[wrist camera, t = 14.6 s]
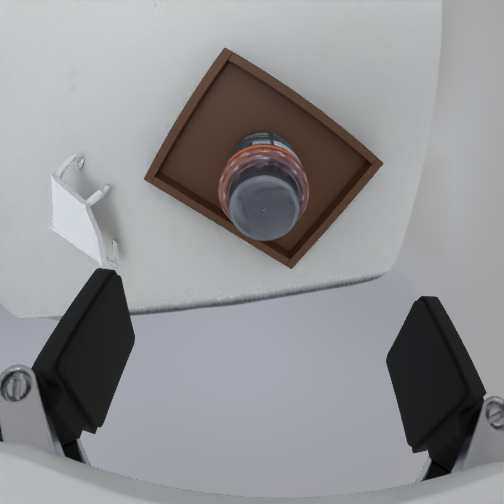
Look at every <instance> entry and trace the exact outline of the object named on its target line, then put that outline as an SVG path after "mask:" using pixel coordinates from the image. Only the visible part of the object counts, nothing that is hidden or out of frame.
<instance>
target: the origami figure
mask: <svg viewBox="0 0 504 504" xmlns="http://www.w3.org/2000/svg"><path fill="white" fill-rule="evenodd" d="M72 160H73V163H74V165H75V167H76V170H77V171H78V172H79V170H80V168H81V166H82V164H83V162H84V160H83V159H81V161H80V163H79V165H78V162H77V159H76V156H75V154H74V153H73V154H72V155H71V156H70V157H69V158H68V159H67V160H66V161H65V162H64V163H63V164H62V165H61V167H60V168H59V169H58V170H57V172H55V173H54V174H52V179H51V183H52V200H53V219H52V220H51V223H52V224H53V227H51V228H50V229H51V230H53V231H55V232H57V233H58V234H60V235H61V236H62V237H64V238H65V239H67V240H68V241H69V242H71V243H72V244H74V245H75V246H76V247H78V248H79V249H81V250H82V251H83V252H85V253H86V254H88V255H89V256H91V257H92V258H93V259H95V260H96V261H97V262H98V263H99V264H100V266H103V265H109V266H112V267H114V268H117V267H118V253H117V242H116V241H115V240H114V241H113V243H112V244H113V261H111V260H110V259H108V258H107V257H106V253H105V248H104V243H103V238H102V234H101V232H100V229H99V227H98V224H97V222H96V220H95V217H94V215H93V213H92V210H91V208H90V206H92V205H93V204H94V203H95V202H97V201H98V200H99V199H101V198H102V197H103V196H104V195H105V194H106V193H107V192H108V191H109V189H110V187H109V186H108V185H106V186H105V187H104V188H103V189H102V190H98V191H97V192H95V193H94V194H93V195H92V196H91V197H90V198H89V199H87V200H84V199H83V198H82V197H81V196H80V195H79V194H77V193H76V192H75V191H74V190H73V189H72V188H70V187H69V186H68V185H67V184H66V183H65V182H64V181H63V180H61V178H62V176H63V173H64V171H65V170H66V168H67V167H68V165H69V164H70V163H71V161H72Z"/></svg>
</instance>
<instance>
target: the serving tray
mask: <svg viewBox="0 0 504 504" xmlns="http://www.w3.org/2000/svg"><path fill="white" fill-rule="evenodd" d="M262 130H265V131H272V132H275V133H277V134H279V135H281V136H283V137H284V138H285V139H286V140H287V141H288V142H289V143H290V144H291V145H292V147H293V148H294V150H295V153H296V155H297V156H298V159H299V160H300V163H301V165H302V167H303V169H304V171H305V173H306V176H307V179H308V183H309V199H308V203H307V206H306V209H305V211H304V213H303V214H302V216H301V217H300V218H299V219H298V220H297V222H296V223H295V225H294V226H293V228H292V229H291V230H290V231H289V232H288V233H286V234H285V235H283V236H282V237H279V238H277V239H274V240H267V241H261V240H254V239H252V238H249V237H247V236H245V235H244V234H242V233H241V232H240V231H239V230H238V229H237V228H236V227H235V226H234V224H233V222H232V221H231V220H230V219H229V218H228V217H227V216H226V214H225V213H224V211H223V209H222V207H221V204H220V201H219V195H218V185H219V180H220V177H221V174H222V171H223V169H224V166H225V164H226V162H227V160H228V157H229V155H230V153H231V151H232V149H233V147H234V146H235V144H236V143H237V141H239V140H240V139H241V138H242V137H243V136H245V135H246V134H249V133H251V132H254V131H262ZM382 165H383V162H382V161H381V160H380V159H378V158H377V157H376V156H375V155H374V154H373V153H372V152H371V151H369V150H368V149H367V148H366V147H365V146H364V145H363V144H361V143H360V142H359V141H358V140H357V139H356V138H354V137H353V136H352V135H351V134H350V133H348V132H347V131H346V130H345V129H343V128H342V127H341V126H340V125H339V124H337V123H336V122H335V121H333V120H332V119H331V118H330V117H328V116H327V115H326V114H324V113H323V112H322V111H321V110H319V109H318V108H317V107H315V106H314V105H313V104H311V103H310V102H308V101H307V100H306V99H304V98H303V97H302V96H300V95H299V94H297V93H296V92H295V91H293V90H292V89H290V88H289V87H287V86H286V85H284V84H283V83H281V82H280V81H278V80H277V79H275V78H274V77H272V76H271V75H269V74H268V73H266V72H265V71H263V70H262V69H260V68H258V67H257V66H255V65H254V64H252V63H250V62H249V61H247V60H245V59H244V58H242V57H240V56H239V55H237V54H235V53H233V52H232V51H230V50H228V49H226V48H224V49H223V51H222V52H221V53H220V55H219V56H218V57H217V59H216V60H215V62H214V63H213V65H212V66H211V67H210V69H209V70H208V72H207V73H206V75H205V76H204V78H203V79H202V81H201V82H200V84H199V85H198V87H197V88H196V90H195V91H194V93H193V94H192V96H191V97H190V99H189V101H188V102H187V104H186V105H185V107H184V109H183V110H182V112H181V114H180V115H179V117H178V118H177V120H176V122H175V123H174V125H173V127H172V129H171V130H170V132H169V134H168V135H167V137H166V139H165V141H164V142H163V144H162V146H161V148H160V150H159V151H158V153H157V155H156V157H155V159H154V161H153V162H152V164H151V166H150V168H149V170H148V172H147V174H146V176H145V178H144V180H146V181H147V182H149V183H151V184H153V185H154V186H156V187H158V188H159V189H161V190H163V191H164V192H166V193H168V194H169V195H171V196H173V197H174V198H176V199H177V200H179V201H181V202H182V203H184V204H186V205H187V206H189V207H191V208H192V209H194V210H196V211H197V212H199V213H201V214H202V215H204V216H205V217H207V218H209V219H210V220H212V221H214V222H215V223H217V224H219V225H220V226H222V227H224V228H225V229H227V230H228V231H230V232H232V233H233V234H235V235H237V236H238V237H240V238H242V239H243V240H245V241H246V242H248V243H250V244H251V245H253V246H255V247H256V248H258V249H260V250H261V251H263V252H264V253H266V254H268V255H269V256H271V257H273V258H274V259H276V260H277V261H279V262H281V263H282V264H284V265H286V266H287V267H289V268H291V269H292V268H293V267H294V266H295V265H296V264H297V262H298V261H299V260H300V259H301V258H302V257H303V256H304V255H305V254H306V252H307V251H308V250H309V249H310V248H311V247H312V246H313V245H314V244H315V242H316V241H317V240H318V239H319V238H320V237H321V236H322V235H323V233H324V232H325V231H326V230H327V229H328V228H329V227H330V225H331V224H332V223H333V222H334V221H335V220H336V219H337V217H338V216H339V215H340V214H341V213H342V212H343V211H344V209H345V208H346V207H347V206H348V205H349V204H350V202H351V201H352V200H353V199H354V198H355V197H356V195H357V194H358V193H359V192H360V191H361V190H362V188H363V187H364V186H365V185H366V184H367V182H368V181H369V180H370V179H371V178H372V177H373V175H374V174H375V173H376V172H377V171H378V169H379V168H380V167H381V166H382Z"/></svg>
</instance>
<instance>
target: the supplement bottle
mask: <svg viewBox="0 0 504 504" xmlns="http://www.w3.org/2000/svg"><path fill="white" fill-rule="evenodd" d="M218 195H219V201H220V204H221V207H222V209H223V211H224V213H225V214H226V216H227V217H228V218H229V219H230V220H231V221H232V222H233V224H234V226H235V227H236V228H237V229H238V230H239V231H240V232H241V233H242V234H244V235H245V236H247V237H249V238H252V239H254V240H261V241H267V240H274V239H277V238H279V237H282V236H283V235H285V234H286V233H288V232H289V231H290V230H291V229H292V228H293V226H294V225H295V223H296V222H297V220H298V219H299V218H300V217H301V216H302V214H303V213H304V211H305V209H306V206H307V203H308V199H309V183H308V179H307V176H306V173H305V171H304V169H303V167H302V165H301V163H300V160H299V159H298V156H297V155H296V153H295V150H294V148H293V147H292V145H291V144H290V143H289V142H288V141H287V140H286V139H285V138H284V137H283V136H281V135H279V134H277V133H275V132H272V131H265V130H262V131H254V132H251V133H249V134H246V135H245V136H243V137H242V138H241V139H240V140H239V141H237V143H236V144H235V146H234V147H233V149H232V151H231V153H230V155H229V157H228V160H227V162H226V164H225V166H224V169H223V171H222V174H221V177H220V180H219V185H218Z"/></svg>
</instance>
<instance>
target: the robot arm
mask: <svg viewBox="0 0 504 504" xmlns="http://www.w3.org/2000/svg"><path fill="white" fill-rule="evenodd" d="M134 341H135V335H134V331H133V327H132V323H131V319H130V315H129V310H128V306H127V302H126V297H125V293H124V288H123V283H122V279H121V277H120V276H119V275H117V273H116V271H115V270H110V269H102V268H98V269H96V270H95V272H94V273H93V274H92V276H91V277H90V278H89V280H88V281H87V283H86V284H85V285H84V287H83V288H82V290H81V291H80V292H79V294H78V295H77V297H76V298H75V300H74V301H73V302H72V304H71V305H70V307H69V308H68V310H67V311H66V313H65V314H64V316H63V317H62V319H61V320H60V322H59V323H58V325H57V326H56V328H55V330H54V331H53V333H52V334H51V336H50V338H49V339H48V341H47V342H46V344H45V346H44V347H43V349H42V351H41V352H40V354H39V356H38V357H37V359H36V361H35V362H34V365H33V367H32V368H31V369H30V368H29V367H27V366H24V365H15V366H11V367H9V368H7V369H6V370H5V371H4V372H2V373H1V375H0V504H504V399H502V398H500V397H495V396H492V397H489V398H487V399H486V400H485V401H484V399H483V396H484V395H485V394H486V391H485V389H484V386H483V384H482V382H481V379H480V377H479V375H478V373H477V371H476V369H475V366H474V364H473V362H472V360H471V358H470V356H469V354H468V352H467V350H466V348H465V346H464V344H463V342H462V340H461V338H460V336H459V335H458V333H457V331H456V329H455V327H454V325H453V323H452V321H451V320H450V318H449V316H448V314H447V313H446V311H445V309H444V307H443V306H442V304H441V302H440V300H439V299H438V298H437V297H431V296H421V297H420V298H419V299H418V300H417V301H415V302H414V303H413V306H412V308H411V310H410V312H409V314H408V316H407V318H406V320H405V322H404V324H403V326H402V328H401V330H400V332H399V334H398V336H397V338H396V340H395V342H394V344H393V346H392V347H391V349H390V351H389V353H388V355H387V359H386V363H387V367H388V370H389V373H390V377H391V381H392V384H393V388H394V391H395V395H396V399H397V403H398V406H399V410H400V414H401V418H402V422H403V426H404V430H405V435H406V439H407V443H408V445H409V446H412V451H413V453H417V452H422V451H426V450H428V453H429V457H428V459H427V461H426V463H425V465H424V467H423V469H422V471H421V473H420V474H419V476H418V478H417V480H416V482H415V483H412V484H408V485H403V486H399V487H393V488H388V489H383V490H377V491H370V492H363V493H356V494H346V495H336V496H324V497H305V498H263V497H244V496H231V495H221V494H212V493H204V492H197V491H191V490H184V489H179V488H173V487H168V486H163V485H158V484H154V483H149V482H145V481H141V480H137V479H133V478H130V477H126V476H122V475H119V474H115V473H111V472H108V471H105V470H102V469H99V468H95V467H92V466H91V465H90V462H89V460H88V458H87V455H86V453H85V451H84V448H83V446H82V443H81V441H80V436H81V433H82V430H84V431H87V432H90V433H93V434H95V433H96V430H97V427H101V426H102V425H103V423H104V421H105V418H106V415H107V412H108V409H109V407H110V404H111V401H112V399H113V396H114V393H115V391H116V388H117V386H118V383H119V380H120V377H121V375H122V373H123V370H124V368H125V365H126V363H127V360H128V357H129V355H130V353H131V350H132V348H133V345H134Z"/></svg>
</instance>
